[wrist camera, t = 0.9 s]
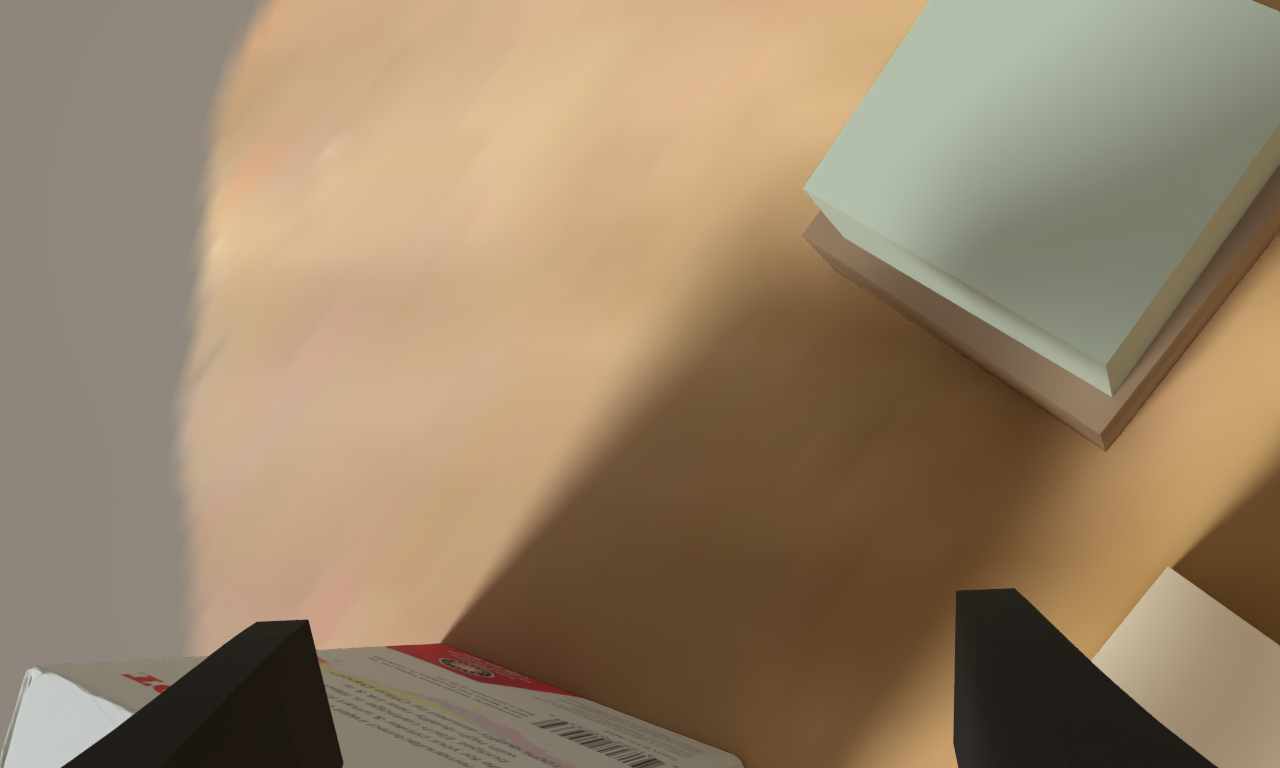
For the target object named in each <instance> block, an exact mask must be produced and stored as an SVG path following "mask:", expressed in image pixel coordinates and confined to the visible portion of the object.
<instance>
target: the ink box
mask: <svg viewBox="0 0 1280 768" xmlns="http://www.w3.org/2000/svg"><path fill="white" fill-rule="evenodd" d="M316 653H317V657H318V661H319V665H320V669H321V673H322V677H323V681H324V685H325V689H326V693H327V697H328V701H329V706H330V710H331V714H332V718H333V722H334V726H335V730H336V734H337V738H338V742H339V746H340V750H341V754H342V758H343V762H344V763H343V767H342V768H744V766H743V764H742V762H741V761H740V759H739V758H738V757H736V756H735V755H733V754H731V753H728V752H725V751H722V750H720V749H718V748H715V747H712V746H709V745H706V744H704V743H701V742H699V741H696V740H693V739H691V738H688V737H685V736H683V735H680V734H677V733H675V732H672V731H669V730H666V729H664V728H661V727H658V726H656V725H653V724H650V723H648V722H645V721H642V720H640V719H637V718H635V717H632V716H629V715H627V714H624V713H622V712H619V711H616V710H614V709H611V708H609V707H606V706H603V705H601V704H598V703H595V702H593V701H590V700H587V699H585V698H583V697H580V696H577V695H574V694H571V693H569V692H566V691H564V690H561V689H559V688H557V687H554V686H552V685H549V684H546V683H544V682H541V681H538V680H536V679H534V678H531V677H528V676H525V675H522V674H520V673H518V672H517V671H513V670H510V669H507V668H505V667H503V666H501V665H497V664H494V663H491V662H489V661H486V660H484V659H482V658H479V657H477V656H474V655H472V654H469V653H466V652H463V651H460V650H458V649H455V648H453V647H450V646H447V645H445V644H425V645H401V646H386V647H363V648H348V649H329V650H316ZM207 657H208V656H204V657H184V658H164V659H145V660H127V661H107V662H87V663H64V664H44V665H37V666H34V667H31V668H29V669H28V670H27V671H26V674H25V678H24V680H23V683H22V686H21V690H20V693H19V697H18V701H17V704H16V707H15V710H14V714H13V717H12V720H11V723H10V726H9V729H8V732H7V736H6V739H5V743H4V746H3V749H2V753H1V757H0V768H61V767H62V766H64V765H65V764H66V763H68V762H69V761H71V760H72V759H73V758H75V757H76V756H78V755H79V754H80V753H82V752H83V751H85V750H86V749H87V748H89V747H90V746H92V745H93V744H94V743H96V742H97V741H99V740H100V739H101V738H103V737H104V736H106V735H107V734H108V733H110V732H111V731H112V730H114V729H115V728H116V727H118V726H119V725H120V724H122V723H123V722H124V721H126V720H127V719H128V718H130V717H131V716H132V715H133V714H135V713H136V712H137V711H139V710H140V709H141V708H143V707H144V706H145V705H146V704H148V703H149V702H150V701H152V700H153V699H154V698H156V697H157V696H158V695H159V694H161V693H162V692H163V691H165V690H166V689H167V688H169V687H170V686H171V685H172V684H174V683H175V682H176V681H178V680H179V679H180V678H181V677H183V676H184V675H185V674H187V673H188V672H189V671H190V670H192V669H193V668H194V667H196V666H197V665H198V664H199V663H201V662H202V661H203V660H205V659H206V658H207Z"/></svg>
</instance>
